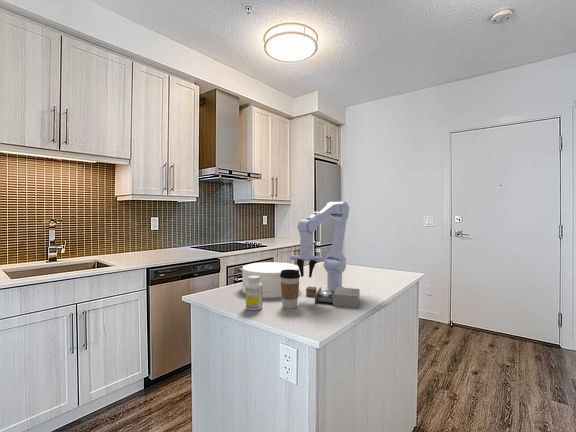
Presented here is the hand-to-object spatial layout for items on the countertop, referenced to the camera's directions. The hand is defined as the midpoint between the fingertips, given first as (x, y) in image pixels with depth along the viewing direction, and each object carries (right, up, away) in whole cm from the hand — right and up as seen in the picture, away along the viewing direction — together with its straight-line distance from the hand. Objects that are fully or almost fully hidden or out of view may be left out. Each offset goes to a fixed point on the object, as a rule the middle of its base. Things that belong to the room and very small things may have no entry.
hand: (306, 276), depth 139 cm
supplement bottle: (-22, -10, -14) cm, 28 cm away
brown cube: (+3, -10, +6) cm, 12 cm away
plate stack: (-17, -10, +16) cm, 25 cm away
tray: (+9, -10, -2) cm, 14 cm away
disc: (+8, -8, -2) cm, 12 cm away
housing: (+17, -10, -5) cm, 21 cm away
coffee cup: (-7, -10, -11) cm, 17 cm away
